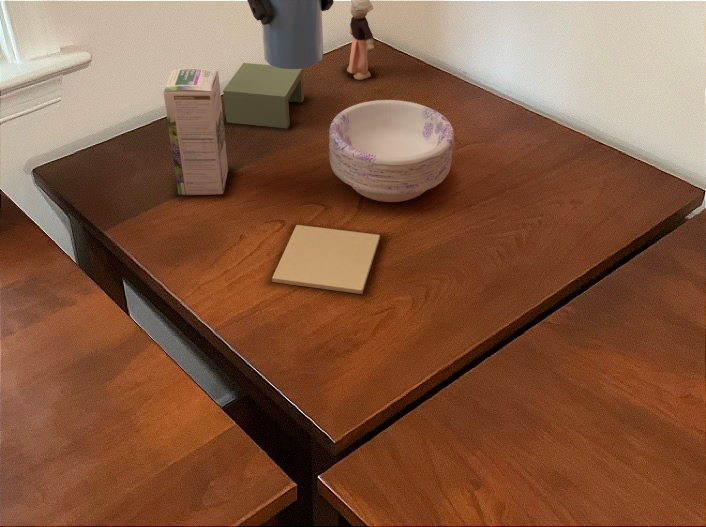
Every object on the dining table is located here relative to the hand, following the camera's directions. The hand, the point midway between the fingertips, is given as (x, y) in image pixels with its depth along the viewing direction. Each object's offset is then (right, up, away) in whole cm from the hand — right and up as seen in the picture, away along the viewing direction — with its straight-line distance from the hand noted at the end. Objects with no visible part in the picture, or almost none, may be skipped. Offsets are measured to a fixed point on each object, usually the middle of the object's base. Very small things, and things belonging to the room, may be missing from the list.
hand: (298, 13), depth 85 cm
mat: (+3, -26, +7) cm, 27 cm away
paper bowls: (+10, -16, +19) cm, 27 cm away
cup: (-1, -3, +4) cm, 6 cm away
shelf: (-7, -4, +34) cm, 35 cm away
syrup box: (-13, -16, +19) cm, 28 cm away
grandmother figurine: (+7, +3, +43) cm, 43 cm away
